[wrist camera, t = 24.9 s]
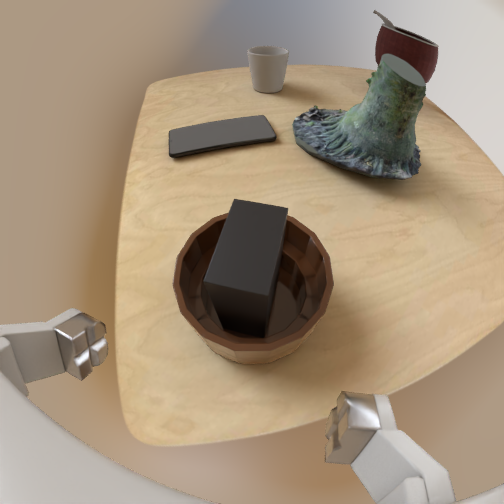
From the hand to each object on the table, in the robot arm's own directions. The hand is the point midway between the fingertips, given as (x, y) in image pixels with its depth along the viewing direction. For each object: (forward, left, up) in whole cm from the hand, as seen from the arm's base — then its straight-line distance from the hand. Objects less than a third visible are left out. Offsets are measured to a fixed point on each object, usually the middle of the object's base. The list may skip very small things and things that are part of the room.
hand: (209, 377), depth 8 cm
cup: (+16, -50, -14) cm, 54 cm away
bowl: (+2, -8, -14) cm, 16 cm away
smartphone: (+16, -29, -14) cm, 36 cm away
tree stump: (-3, -36, -14) cm, 38 cm away
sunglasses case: (+2, -8, -13) cm, 15 cm away
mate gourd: (-9, -64, -14) cm, 66 cm away
